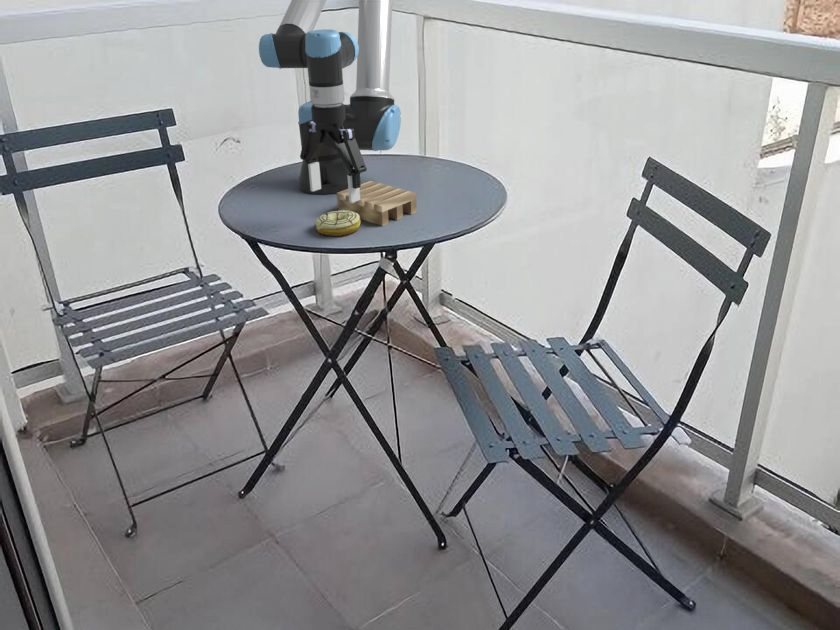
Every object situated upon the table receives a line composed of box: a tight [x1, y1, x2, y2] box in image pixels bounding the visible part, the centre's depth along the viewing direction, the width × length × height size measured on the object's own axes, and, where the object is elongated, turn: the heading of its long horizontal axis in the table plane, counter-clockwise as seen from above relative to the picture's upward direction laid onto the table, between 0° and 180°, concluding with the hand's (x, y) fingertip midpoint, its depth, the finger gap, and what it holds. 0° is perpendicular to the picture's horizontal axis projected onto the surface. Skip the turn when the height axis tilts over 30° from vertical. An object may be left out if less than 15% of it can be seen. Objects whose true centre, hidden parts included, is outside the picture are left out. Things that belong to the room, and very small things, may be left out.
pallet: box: [336, 180, 418, 227], centre depth 203 cm, size 16×12×5 cm
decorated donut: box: [314, 210, 361, 237], centre depth 194 cm, size 10×11×4 cm
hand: (335, 195), depth 191 cm, fingers open, 13 cm apart
